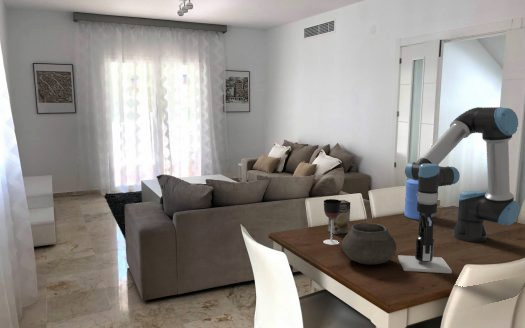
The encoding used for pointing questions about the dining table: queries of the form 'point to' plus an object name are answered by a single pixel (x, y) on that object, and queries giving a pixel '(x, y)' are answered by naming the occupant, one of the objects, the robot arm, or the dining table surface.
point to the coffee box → (341, 219)
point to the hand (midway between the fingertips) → (424, 257)
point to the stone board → (424, 265)
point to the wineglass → (332, 215)
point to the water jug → (412, 200)
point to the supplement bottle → (420, 247)
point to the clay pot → (369, 244)
